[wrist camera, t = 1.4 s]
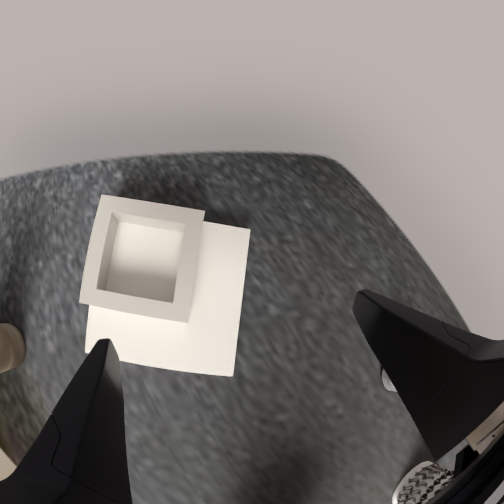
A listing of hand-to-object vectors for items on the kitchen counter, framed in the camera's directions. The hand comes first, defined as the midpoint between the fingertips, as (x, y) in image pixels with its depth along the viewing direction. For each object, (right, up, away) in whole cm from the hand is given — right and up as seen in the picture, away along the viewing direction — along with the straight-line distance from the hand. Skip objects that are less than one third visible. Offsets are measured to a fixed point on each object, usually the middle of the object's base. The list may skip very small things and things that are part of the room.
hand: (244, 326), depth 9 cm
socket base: (-7, -1, +13) cm, 15 cm away
